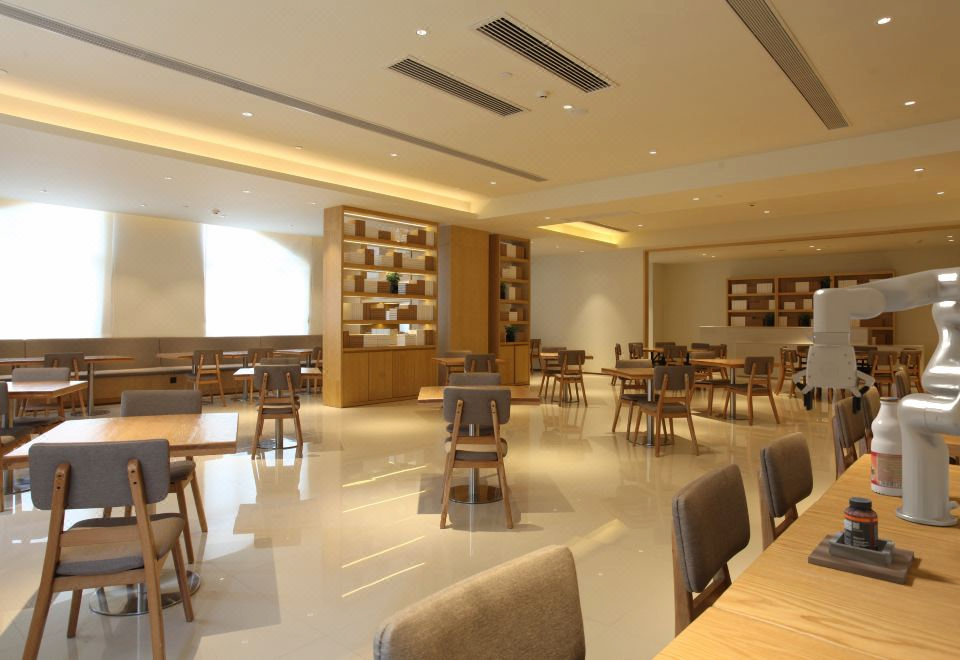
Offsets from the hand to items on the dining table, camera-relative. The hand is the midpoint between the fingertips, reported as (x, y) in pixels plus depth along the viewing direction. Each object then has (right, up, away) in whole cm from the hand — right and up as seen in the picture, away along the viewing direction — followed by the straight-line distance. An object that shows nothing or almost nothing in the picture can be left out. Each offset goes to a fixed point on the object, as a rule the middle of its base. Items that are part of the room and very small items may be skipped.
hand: (831, 411), depth 141 cm
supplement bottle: (-5, -27, -18) cm, 33 cm away
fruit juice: (+37, -29, +33) cm, 57 cm away
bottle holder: (-5, -28, -18) cm, 34 cm away
